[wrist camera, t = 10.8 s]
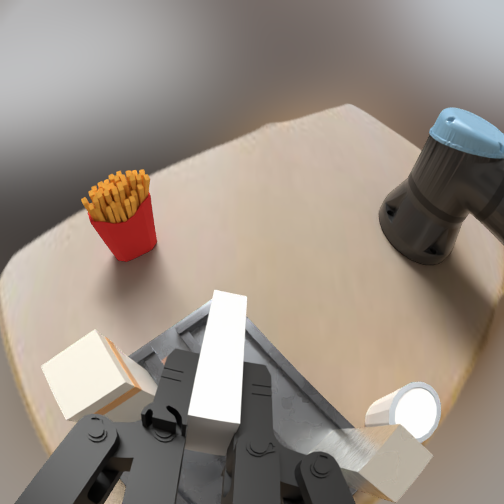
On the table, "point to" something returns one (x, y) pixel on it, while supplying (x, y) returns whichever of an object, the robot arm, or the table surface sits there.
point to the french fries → (123, 214)
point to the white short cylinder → (408, 410)
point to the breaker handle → (99, 381)
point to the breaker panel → (291, 423)
